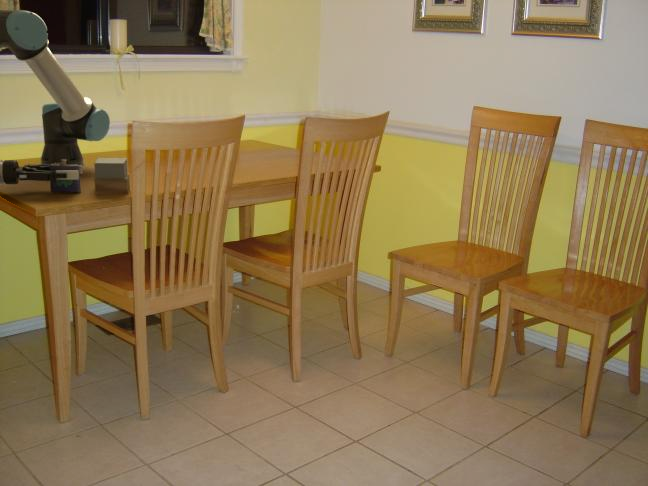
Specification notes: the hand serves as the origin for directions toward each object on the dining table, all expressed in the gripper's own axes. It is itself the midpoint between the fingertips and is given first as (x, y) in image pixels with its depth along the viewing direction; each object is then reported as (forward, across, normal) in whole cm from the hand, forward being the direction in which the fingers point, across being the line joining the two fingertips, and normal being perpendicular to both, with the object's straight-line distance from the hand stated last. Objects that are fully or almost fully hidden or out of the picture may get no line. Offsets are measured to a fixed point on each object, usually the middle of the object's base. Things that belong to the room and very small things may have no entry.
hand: (80, 172), depth 239 cm
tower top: (+9, -3, -2) cm, 10 cm away
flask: (-5, 0, -7) cm, 8 cm away
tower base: (+9, -3, -7) cm, 12 cm away
